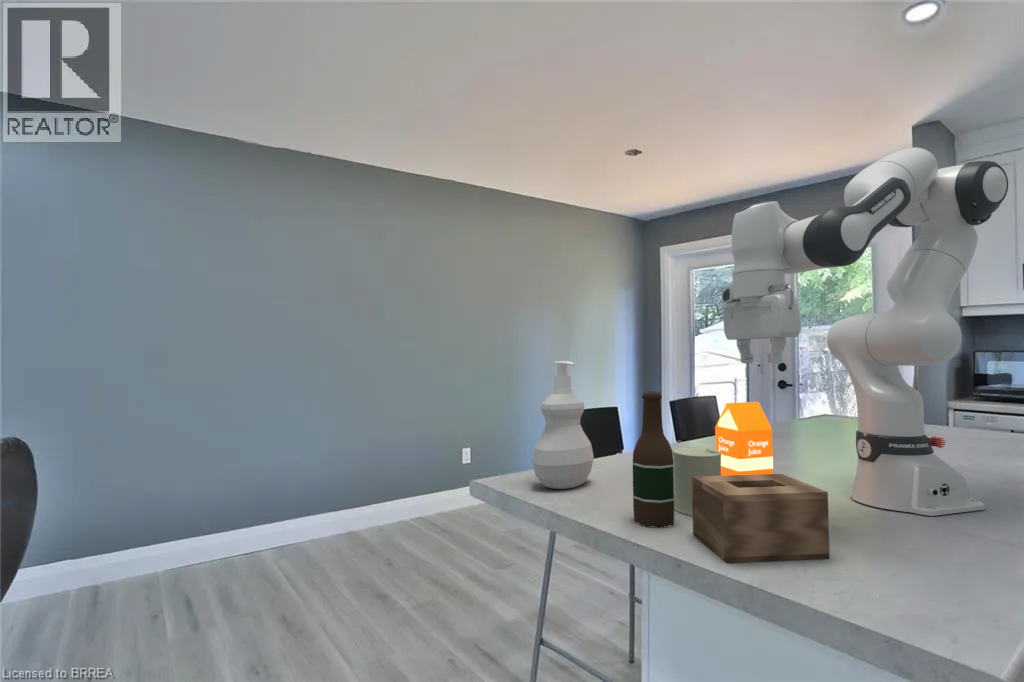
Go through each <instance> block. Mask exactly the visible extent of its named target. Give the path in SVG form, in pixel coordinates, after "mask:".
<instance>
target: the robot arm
mask: <svg viewBox="0 0 1024 682" xmlns="http://www.w3.org/2000/svg"><path fill="white" fill-rule="evenodd" d="M1008 190H1009V178H1008V175H1007V173H1006V171H1005V169H1004V168H1003V167H1002V166H1001V165H1000V164H998V163H997V162H995V161H992V160H977V161H976V160H974V161H969V162H967V163H965V164H964V163H963V164H957V165H951V166H946V167H941V168H939V162H938V161H937V158H936V157H935V156H934V154H933V153H932V152H931V151H929V150H927V149H925V148H922V147H916V146H915V147H907V148H904V149H900V150H898V151H894V152H892V153H890V154H888V155H886V156H883V157H882V158H880V159H878V160H876V161H874V162H873V163H871V164H870V165H868V166H866V167H864V169H862V170H861V171H859V172H858V173H857V174H856V175H855V176H854V177H853V178H852V179H851V180H849V182H848V183H847V184H846V185H845V187H844V193H843V201H844V205H845V206H839V207H836V208H831V209H830V210H827V211H825V212H822V213H819V214H816V215H813V216H810V217H807V218H806V217H805V218H804V219H801V220H798V219H795V218H793V217H791V216H789V215H788V214H787V213H786V212H784V211H783V209H781V207H780V203H779V202H778V201H776V200H764V201H759V202H755V203H751V204H749V205H746V206H743V207H742V208H740V209H738V211H736V212H735V214H734V216H733V221H732V227H731V253H732V257H733V263H734V265H733V269H732V272H731V273H732V278H731V279H732V281H731V282H730V283H729V284H728V286H727V287H726V288H725V290H723V291H722V292H721V295H720V298H721V303H723V304H724V306H723V311H722V312H723V313H722V314H723V316H722V317H723V332H724V335H725V338H726V339H727V340H729V341H730V340H731V341H736V346H737V349H738V353H739V354H740V362H741V363H742V364H753V362H754V353H751V349H750V346H751V340H758V339H759V340H760V339H769V345H771V347H770V351H769V353H768V354H767V363H768V364H769V365H781V364H782V359H783V358H782V357H783V356H782V354H783V352H784V349H785V347H786V345H787V344H786V343H787V342H786V341H787V338H797V337H798V336H799V335H800V333H801V330H802V323H801V314H800V307H799V306H800V305H799V301H798V298H797V297H796V296H795V291H794V289H793V288H792V287H791V286H790V284H789V283H786V282H785V281H786V279H785V275H793V274H799V273H804V272H806V273H807V272H810V271H817V270H821V269H826V268H838V267H840V268H841V267H847V266H850V265H852V264H854V263H856V262H857V261H858V260H859V259H860V258H861V257H862V256H863V255H864V254H865V252H866V250H867V248H868V247H869V244H870V243H871V241H872V240H873V239H874V237H875V236H876V235H877V234H878V233H880V231H881V230H883V229H884V228H885V227H886V226H888V225H890V226H892V227H896V228H912V227H915V226H920V227H921V228H920V232H919V236H918V237H917V238H916V239H915V240H914V242H913V243H912V244H911V246H909V248H908V249H907V251H906V253H904V255H903V257H902V258H901V260H900V262H899V263H898V265H897V267H896V268H895V270H894V271H893V273H892V275H891V276H890V278H889V279H888V281H887V284H886V290H887V293H888V296H889V298H890V299H891V300H892V301H893V302H894V305H893V306H892V307H891V308H890V309H888V310H886V311H883V312H874V313H873V312H872V313H862V314H855V315H851V316H848V317H845V318H842V319H840V320H837V321H835V322H834V323H833V324H832V325H831V326H830V328H829V330H828V331H827V335H826V343H827V347H828V350H829V353H831V355H832V356H833V357H834V358H835V359H836V360H837V361H839V362H840V363H841V365H843V367H844V368H845V370H846V373H848V376H849V378H850V380H851V383H852V386H853V389H854V392H855V397H856V405H857V406H856V409H857V430H856V431H855V448H856V453H857V463H856V464H857V466H856V473H855V478H854V484H853V487H852V490H851V494H850V498H851V499H852V500H853V501H856V502H858V503H860V504H864V505H866V506H871V507H875V508H879V509H885V510H891V511H897V512H905V513H912V514H917V515H922V516H929V517H936V516H941V515H943V516H944V515H949V514H950V515H951V514H958V513H966V512H967V513H969V512H976V511H983V510H986V505H985V503H983V501H980V500H978V499H975V498H974V497H970V494H969V488H968V484H967V483H968V482H967V480H966V478H965V476H964V475H963V474H962V473H961V472H960V471H958V470H957V469H955V468H954V467H953V466H951V465H950V464H948V463H947V462H945V461H944V460H943V459H941V458H940V457H938V456H937V455H936V454H934V449H933V447H936V448H940V449H942V448H945V446H946V440H945V439H944V438H943V437H937V436H931V437H928V436H927V435H926V434H925V411H924V408H925V407H924V398H923V395H922V394H921V393H920V392H919V391H918V390H917V389H916V388H915V387H913V386H911V385H909V384H908V383H907V381H906V380H905V379H904V377H903V376H902V374H901V372H900V371H901V370H900V368H899V366H902V367H903V366H906V367H907V366H909V367H910V366H911V367H914V366H915V367H921V366H927V365H933V364H939V363H944V362H947V361H949V360H951V359H953V358H954V357H955V356H956V354H957V352H958V351H960V350H959V349H960V347H961V345H962V339H963V338H962V337H963V335H962V334H963V333H962V329H961V327H960V325H959V324H958V321H956V320H955V318H954V317H953V316H951V315H950V314H949V312H948V306H949V303H950V300H951V298H952V297H953V295H954V293H955V291H956V290H957V287H958V285H959V284H960V283H961V280H962V278H963V277H964V275H965V273H966V272H967V270H968V268H969V266H970V265H971V262H972V260H973V257H974V255H975V251H976V249H977V246H978V240H979V237H978V233H977V230H976V229H975V226H979V225H982V224H984V223H986V222H987V221H989V219H991V218H992V214H993V213H995V211H997V210H998V209H999V207H1000V206H1001V205H1002V203H1003V201H1004V200H1005V198H1006V196H1007V193H1008Z"/></svg>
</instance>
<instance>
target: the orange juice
mask: <svg viewBox="0 0 1024 682" xmlns="http://www.w3.org/2000/svg"><path fill="white" fill-rule="evenodd" d="M714 429H715V430H714V431H715V434H714V435H715V437H714V438H715V450H717V451H720V452H721V476H724V475H756V474H774V457H773V428H772V426H771V423H770V422H769V420H768V418H767V416H766V414H765V412H764V410H763V408H762V406H761V404H760V402H759V401H750V402H749V401H748V402H746V401H745V402H728V403H727V402H726V403H725V405H724V408H723V410H722V412H721V414H720V417H719V419H718V421H717V423H716V425H715V426H714Z"/></svg>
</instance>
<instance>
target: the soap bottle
mask: <svg viewBox="0 0 1024 682" xmlns="http://www.w3.org/2000/svg"><path fill="white" fill-rule="evenodd" d="M554 365H557V376H554V377H553V378H554V382H553V383H554V388H553V391H552V393H551V394H550V395H548V396H547V397H546V398H545V399H544V400H543V401H542V402H541V405H540V411H541V415H542V416H543V418H544V419H545V427H544V429H543V432H542V434H541V436H540V437H539V439H538V441H537V443H536V444H535V446H534V449H533V457H532V467H533V471H534V474H535V477H536V478H537V480H538V481H539V482H540V483H541V484H542V485H543V486H544V487H546V488H550V489H555V490H568V489H573V488H577V487H578V486H582V485H583V484H585V482H586V480H587V479H588V477H589V476H590V474H591V472H592V468H593V462H594V459H595V458H594V457H595V456H594V451H593V447H592V446H593V445H592V442H591V441H590V439H589V438H588V436H587V434H586V433H585V431H584V430H583V427H582V425H581V418H582V416H583V413H584V411H585V404H584V401H583V400H582V399H581V397H579V396H578V395H576V394H575V393H574V392H573V390H572V386H571V384H572V383H571V381H572V380H571V379H572V378H571V376H570V375H568V366H575V365H576V364H575V363H574V362H572V361H568V360H564V361H563V360H559V361H557V360H556V361H554Z"/></svg>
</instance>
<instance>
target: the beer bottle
mask: <svg viewBox="0 0 1024 682" xmlns="http://www.w3.org/2000/svg"><path fill="white" fill-rule="evenodd" d="M641 398H642V399H643V408H642V409H643V410H642V428H641V435H640V436H639V438H638V439H637V441H636V442H635V445H634V449H633V452H632V497H633V498H632V499H633V500H632V501H633V502H632V503H633V504H632V505H633V506H632V507H633V510H632V512H633V521H634V522H635V523H636V522H638V523H637V524H639V523H640V524H639V525H641V524H642V525H641V526H644V525H645V526H644V527H648V526H655V527H654V528H660V527H662V528H665V527H664V526H666V527H670V526H669V525H671V526H674V523H675V521H674V520H675V509H674V461H673V449H672V446H671V444H670V441H669V440H668V439H667V437H666V436H665V434H664V427H663V420H662V403H661V399H662V398H663V396H662V393H661V391H655V390H653V391H652V390H650V391H649V390H647V391H644V392H642V396H641Z"/></svg>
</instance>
